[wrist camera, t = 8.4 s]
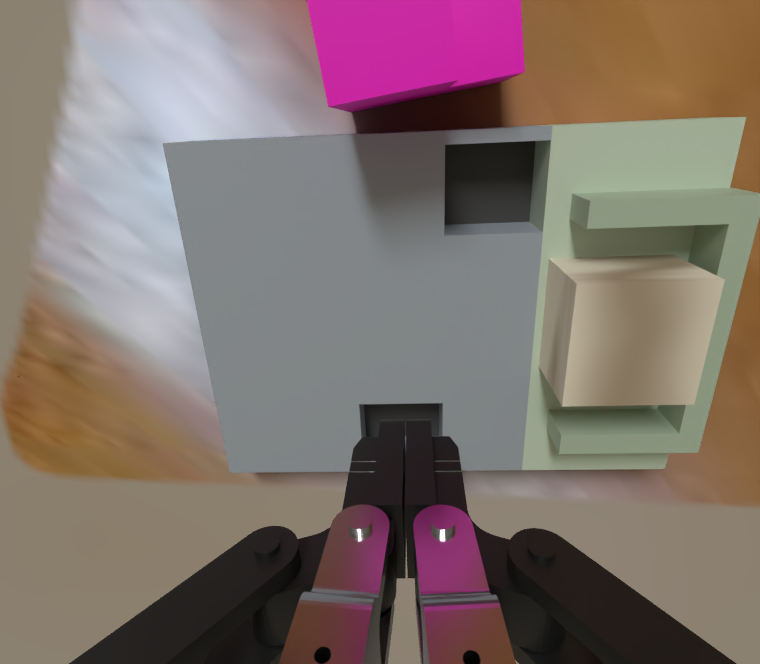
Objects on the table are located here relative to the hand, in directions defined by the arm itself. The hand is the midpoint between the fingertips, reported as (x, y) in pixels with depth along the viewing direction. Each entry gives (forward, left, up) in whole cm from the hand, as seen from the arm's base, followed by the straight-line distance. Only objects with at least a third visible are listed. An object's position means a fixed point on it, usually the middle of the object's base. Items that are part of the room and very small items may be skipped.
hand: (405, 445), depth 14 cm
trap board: (-2, 0, -11) cm, 11 cm away
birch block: (-9, -1, -8) cm, 12 cm away
